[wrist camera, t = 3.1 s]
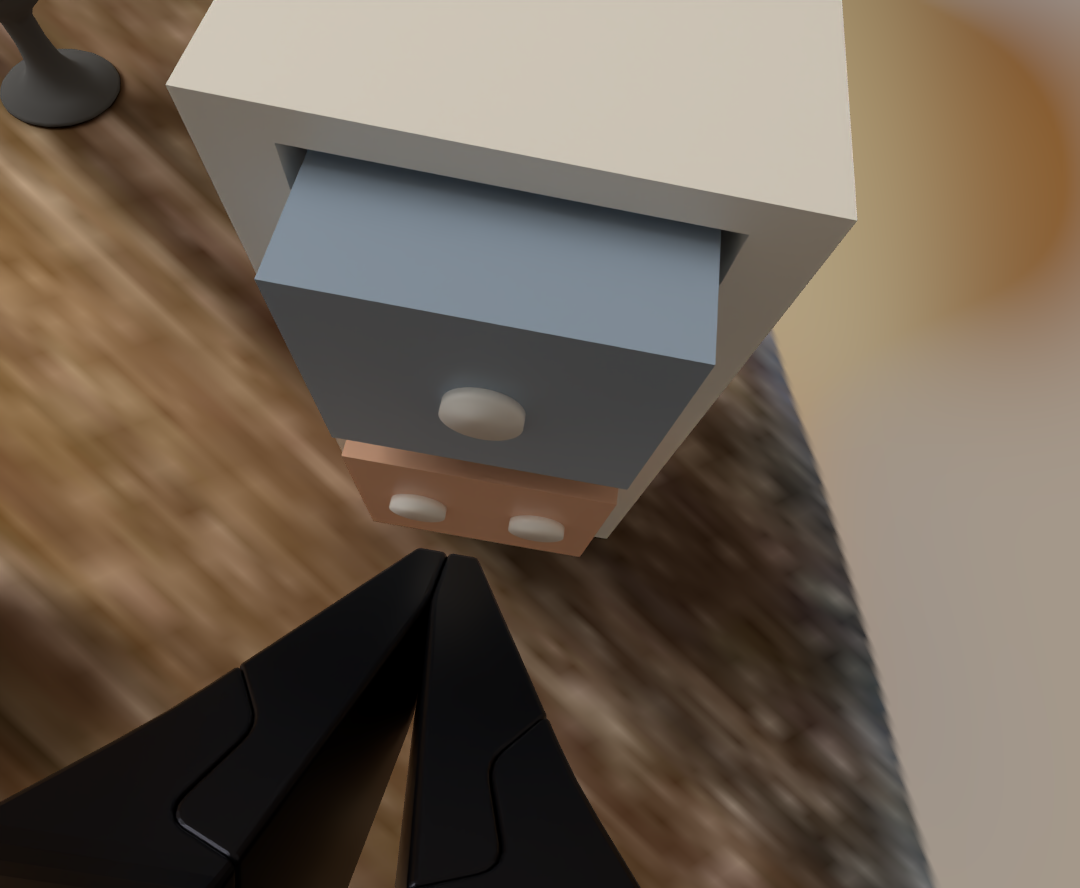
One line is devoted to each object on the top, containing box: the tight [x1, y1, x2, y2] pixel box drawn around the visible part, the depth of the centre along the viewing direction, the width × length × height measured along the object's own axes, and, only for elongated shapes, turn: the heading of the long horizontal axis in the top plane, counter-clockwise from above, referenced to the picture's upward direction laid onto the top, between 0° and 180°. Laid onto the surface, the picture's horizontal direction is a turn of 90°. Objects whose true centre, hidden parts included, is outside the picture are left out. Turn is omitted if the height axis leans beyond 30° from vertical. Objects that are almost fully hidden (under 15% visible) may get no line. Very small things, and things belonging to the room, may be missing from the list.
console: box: [166, 0, 857, 539], centre depth 17 cm, size 6×9×16 cm
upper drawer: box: [255, 149, 721, 490], centre depth 11 cm, size 3×6×5 cm, turn 82°
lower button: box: [342, 440, 618, 557], centre depth 16 cm, size 3×6×5 cm, turn 82°
